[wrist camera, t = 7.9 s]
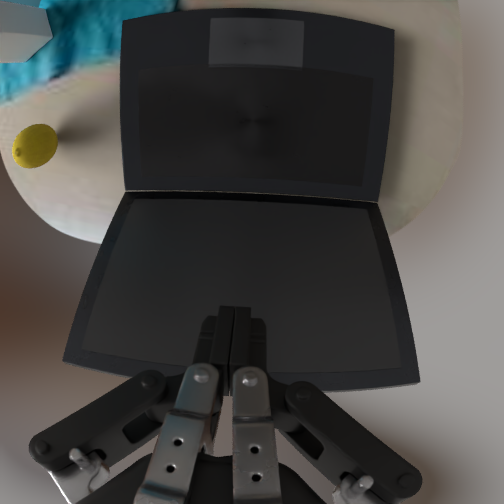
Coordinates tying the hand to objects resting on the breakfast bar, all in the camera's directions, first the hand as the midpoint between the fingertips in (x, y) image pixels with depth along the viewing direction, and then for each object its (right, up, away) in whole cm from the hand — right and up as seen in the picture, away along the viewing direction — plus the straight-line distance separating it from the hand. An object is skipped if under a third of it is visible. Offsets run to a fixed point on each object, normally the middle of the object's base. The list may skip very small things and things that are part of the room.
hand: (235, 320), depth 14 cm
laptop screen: (0, +2, +12) cm, 13 cm away
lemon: (-26, +18, +17) cm, 36 cm away
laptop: (+1, +20, +15) cm, 25 cm away
